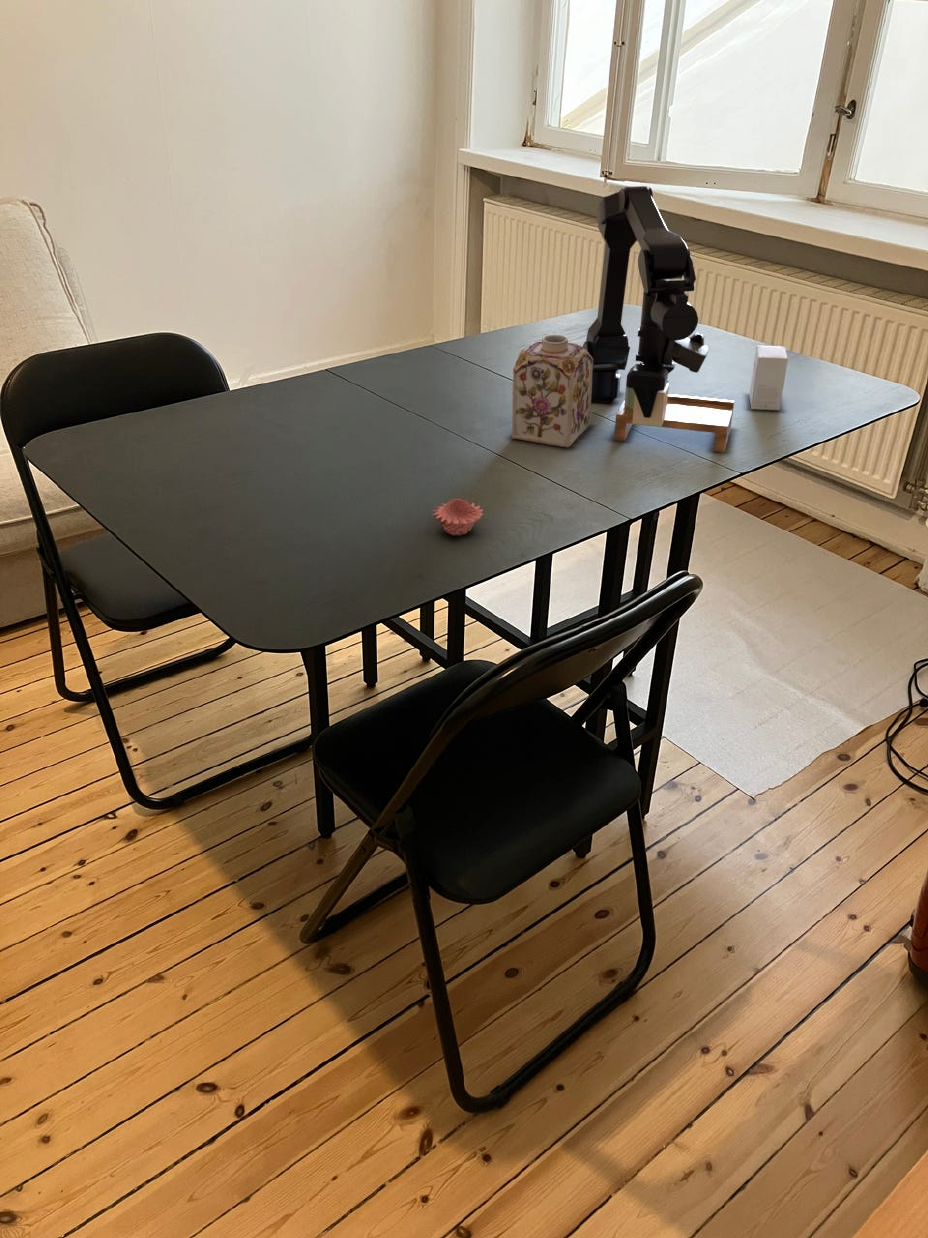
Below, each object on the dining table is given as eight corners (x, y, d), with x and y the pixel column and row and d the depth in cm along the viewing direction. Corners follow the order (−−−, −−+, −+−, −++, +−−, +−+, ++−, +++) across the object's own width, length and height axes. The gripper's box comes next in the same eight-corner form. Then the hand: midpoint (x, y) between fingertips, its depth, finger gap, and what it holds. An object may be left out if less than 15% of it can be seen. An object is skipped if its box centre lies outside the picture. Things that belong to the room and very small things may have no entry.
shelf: (613, 440, 185) (616, 410, 182) (624, 418, 194) (627, 389, 191) (724, 452, 180) (728, 422, 177) (730, 430, 189) (734, 400, 185)
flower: (460, 516, 160) (460, 484, 157) (494, 533, 155) (494, 501, 152) (422, 531, 156) (420, 499, 153) (455, 550, 151) (455, 517, 148)
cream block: (632, 423, 173) (635, 390, 169) (637, 413, 177) (640, 380, 173) (661, 426, 171) (664, 393, 168) (665, 416, 175) (669, 383, 172)
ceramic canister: (622, 408, 185) (624, 382, 182) (627, 399, 189) (629, 374, 186) (648, 411, 184) (650, 385, 181) (652, 402, 187) (655, 376, 185)
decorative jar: (591, 426, 191) (596, 332, 181) (570, 449, 182) (575, 351, 172) (532, 417, 195) (535, 325, 185) (509, 439, 186) (510, 343, 176)
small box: (779, 411, 196) (788, 358, 191) (750, 409, 197) (758, 357, 191) (777, 397, 203) (785, 345, 197) (748, 395, 204) (756, 344, 198)
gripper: (700, 342, 155) (689, 437, 163) (714, 309, 170) (703, 397, 178) (629, 336, 158) (621, 429, 166) (649, 304, 173) (641, 391, 181)
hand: (649, 411), depth 173 cm, fingers closed on cream block, 5 cm apart
